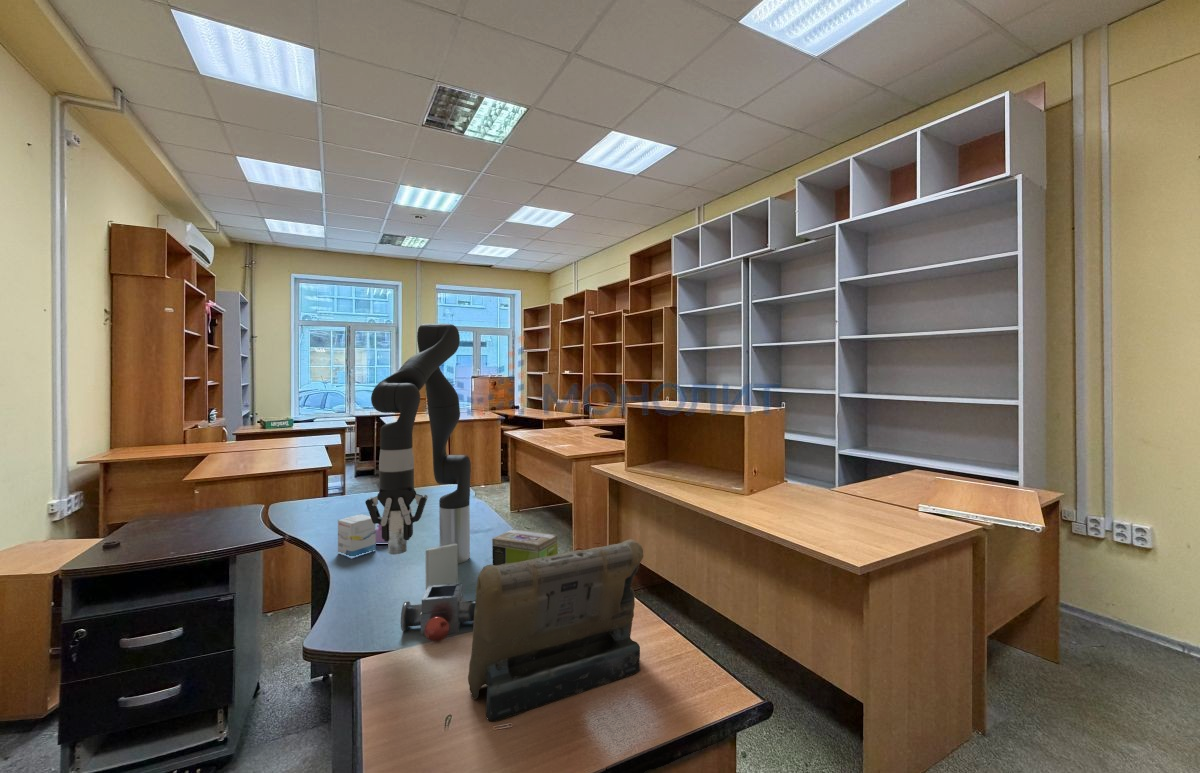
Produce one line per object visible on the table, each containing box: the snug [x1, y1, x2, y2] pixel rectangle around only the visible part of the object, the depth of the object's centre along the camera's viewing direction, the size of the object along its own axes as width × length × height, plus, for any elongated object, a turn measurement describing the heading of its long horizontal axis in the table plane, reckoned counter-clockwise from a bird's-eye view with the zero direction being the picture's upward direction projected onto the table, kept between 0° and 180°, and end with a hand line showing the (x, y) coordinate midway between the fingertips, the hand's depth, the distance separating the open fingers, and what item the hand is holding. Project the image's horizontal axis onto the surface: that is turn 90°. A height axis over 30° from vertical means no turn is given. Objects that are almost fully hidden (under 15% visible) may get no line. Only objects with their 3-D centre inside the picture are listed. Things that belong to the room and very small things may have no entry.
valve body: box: [400, 582, 476, 642], centre depth 107 cm, size 12×17×8 cm
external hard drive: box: [425, 544, 459, 591], centre depth 126 cm, size 2×8×12 cm, turn 123°
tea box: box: [491, 528, 559, 565], centre depth 127 cm, size 15×10×15 cm
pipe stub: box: [387, 510, 408, 555], centre depth 112 cm, size 4×4×10 cm
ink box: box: [337, 513, 377, 556], centre depth 157 cm, size 8×8×12 cm
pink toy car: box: [375, 524, 388, 543], centre depth 172 cm, size 18×6×10 cm, turn 179°
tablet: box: [467, 538, 644, 722], centre depth 89 cm, size 33×14×25 cm, turn 123°
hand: (397, 539), depth 112 cm, fingers closed on pipe stub, 4 cm apart
